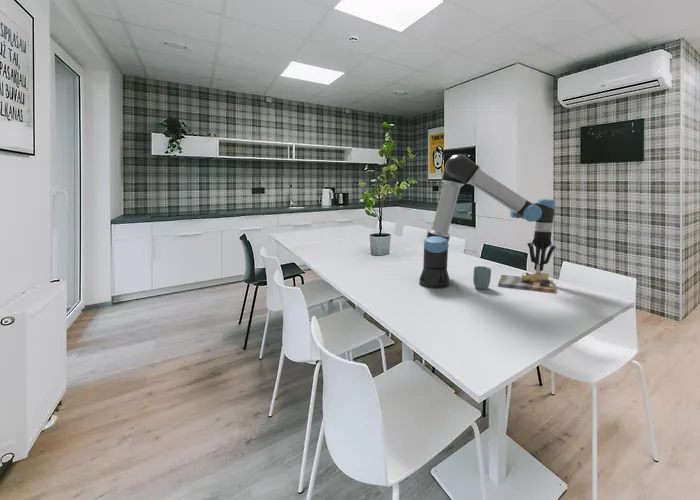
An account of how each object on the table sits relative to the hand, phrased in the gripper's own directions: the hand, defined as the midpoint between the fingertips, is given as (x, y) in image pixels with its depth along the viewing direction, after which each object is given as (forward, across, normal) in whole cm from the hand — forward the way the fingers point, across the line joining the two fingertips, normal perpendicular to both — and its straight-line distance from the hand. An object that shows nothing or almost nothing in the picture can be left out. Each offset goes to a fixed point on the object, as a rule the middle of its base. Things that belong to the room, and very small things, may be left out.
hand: (537, 276), depth 177 cm
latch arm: (+1, 0, -5) cm, 5 cm away
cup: (+4, -15, -30) cm, 34 cm away
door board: (+3, -2, -9) cm, 9 cm away
